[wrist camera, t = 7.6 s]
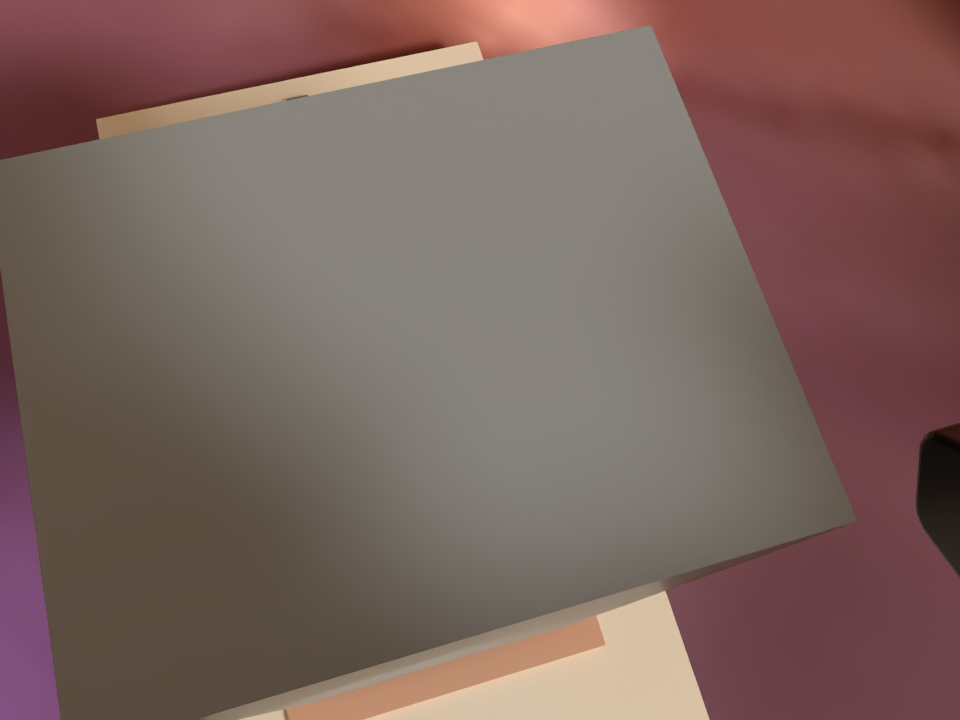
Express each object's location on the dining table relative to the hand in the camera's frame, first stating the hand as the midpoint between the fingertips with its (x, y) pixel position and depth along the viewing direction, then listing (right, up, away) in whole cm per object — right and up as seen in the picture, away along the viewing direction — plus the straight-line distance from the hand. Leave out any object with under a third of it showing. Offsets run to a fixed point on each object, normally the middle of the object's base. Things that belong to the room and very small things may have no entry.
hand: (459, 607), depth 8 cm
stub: (-1, -2, +10) cm, 10 cm away
